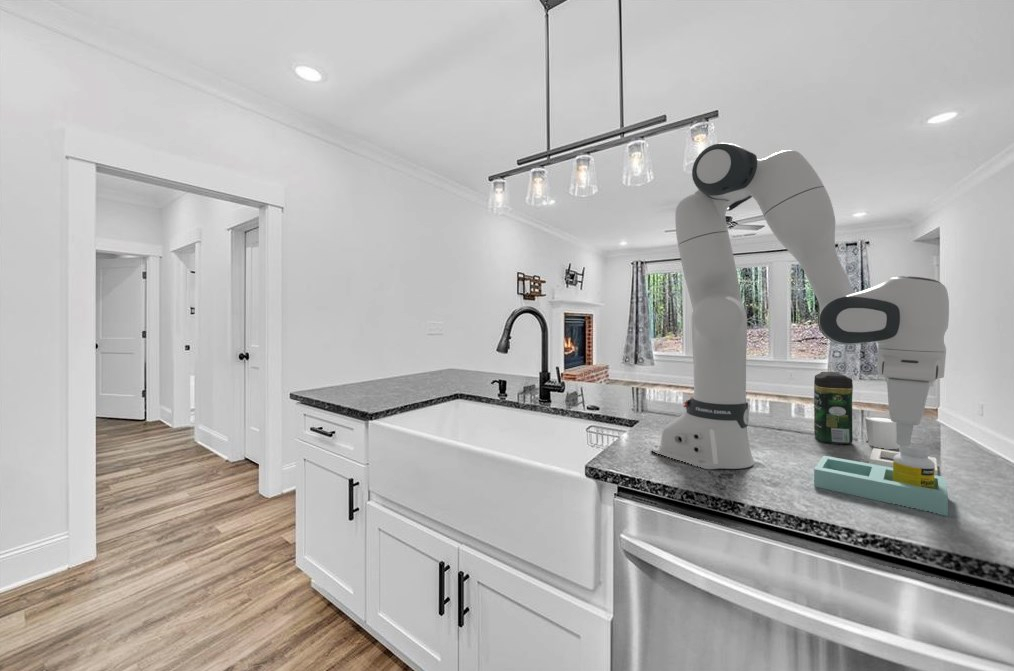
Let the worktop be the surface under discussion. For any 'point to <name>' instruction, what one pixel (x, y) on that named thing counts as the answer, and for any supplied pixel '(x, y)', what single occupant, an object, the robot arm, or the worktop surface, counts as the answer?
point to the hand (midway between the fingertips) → (903, 439)
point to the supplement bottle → (914, 466)
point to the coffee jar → (833, 408)
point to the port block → (879, 484)
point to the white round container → (881, 432)
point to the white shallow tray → (879, 453)
